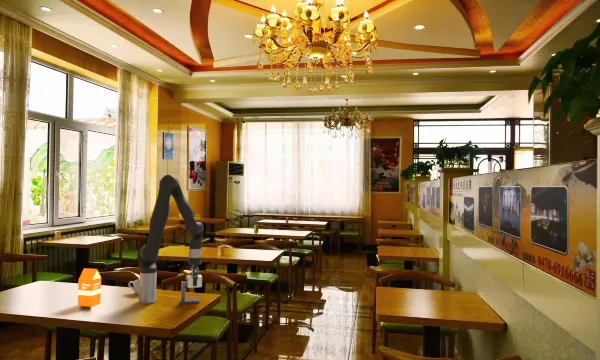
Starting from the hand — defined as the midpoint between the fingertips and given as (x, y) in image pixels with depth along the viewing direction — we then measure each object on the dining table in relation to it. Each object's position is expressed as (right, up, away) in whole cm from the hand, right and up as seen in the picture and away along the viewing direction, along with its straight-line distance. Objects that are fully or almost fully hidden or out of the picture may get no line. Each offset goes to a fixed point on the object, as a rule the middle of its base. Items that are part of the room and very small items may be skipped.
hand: (194, 284), depth 249 cm
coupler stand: (-2, -10, -1) cm, 10 cm away
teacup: (-38, -10, +17) cm, 43 cm away
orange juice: (-57, -9, -10) cm, 58 cm away
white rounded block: (0, -1, 0) cm, 1 cm away
